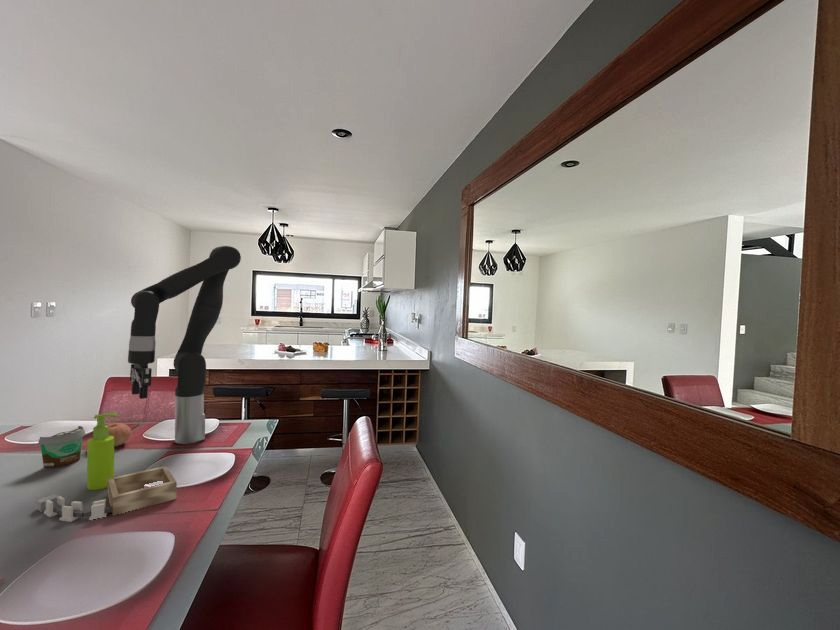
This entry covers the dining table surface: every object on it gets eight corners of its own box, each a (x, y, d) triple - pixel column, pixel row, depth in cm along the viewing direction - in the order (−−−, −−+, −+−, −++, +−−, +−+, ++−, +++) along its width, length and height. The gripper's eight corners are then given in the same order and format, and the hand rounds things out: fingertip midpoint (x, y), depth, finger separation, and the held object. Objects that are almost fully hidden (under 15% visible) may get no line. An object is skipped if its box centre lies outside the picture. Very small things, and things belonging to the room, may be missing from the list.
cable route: (51, 502, 102) (51, 490, 102) (115, 512, 98) (115, 499, 98) (24, 514, 96) (24, 501, 96) (91, 525, 92) (91, 511, 92)
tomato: (128, 438, 149) (128, 417, 149) (133, 446, 142) (133, 424, 141) (90, 445, 142) (90, 423, 141) (94, 454, 134) (94, 430, 134)
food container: (54, 472, 119) (54, 439, 119) (38, 470, 121) (37, 437, 120) (95, 456, 132) (95, 426, 131) (80, 455, 133) (80, 425, 132)
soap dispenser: (117, 486, 112) (117, 415, 111) (85, 491, 108) (85, 418, 108) (119, 478, 117) (120, 410, 116) (89, 483, 113) (89, 413, 113)
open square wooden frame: (166, 481, 116) (166, 465, 115) (176, 498, 106) (176, 481, 106) (107, 495, 107) (107, 478, 106) (112, 516, 97) (112, 497, 97)
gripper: (161, 350, 135) (158, 398, 135) (148, 346, 144) (145, 391, 144) (135, 351, 129) (132, 401, 129) (123, 347, 139) (120, 394, 139)
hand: (139, 396), depth 137 cm, fingers open, 8 cm apart
